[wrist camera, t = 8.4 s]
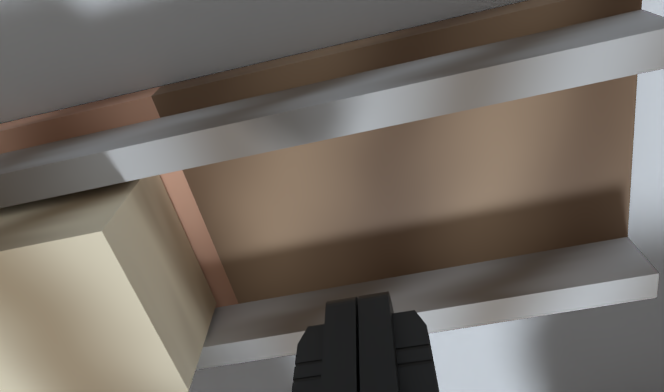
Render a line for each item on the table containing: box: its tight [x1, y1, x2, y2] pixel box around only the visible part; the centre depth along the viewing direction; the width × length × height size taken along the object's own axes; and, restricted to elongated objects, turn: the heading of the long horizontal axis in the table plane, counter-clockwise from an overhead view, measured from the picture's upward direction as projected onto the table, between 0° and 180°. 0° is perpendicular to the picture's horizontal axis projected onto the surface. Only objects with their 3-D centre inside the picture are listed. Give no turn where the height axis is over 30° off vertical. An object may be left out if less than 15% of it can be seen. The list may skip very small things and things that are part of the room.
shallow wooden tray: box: [0, 0, 664, 370], centre depth 16 cm, size 23×10×4 cm, turn 103°
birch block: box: [0, 175, 217, 392], centre depth 16 cm, size 6×6×4 cm
